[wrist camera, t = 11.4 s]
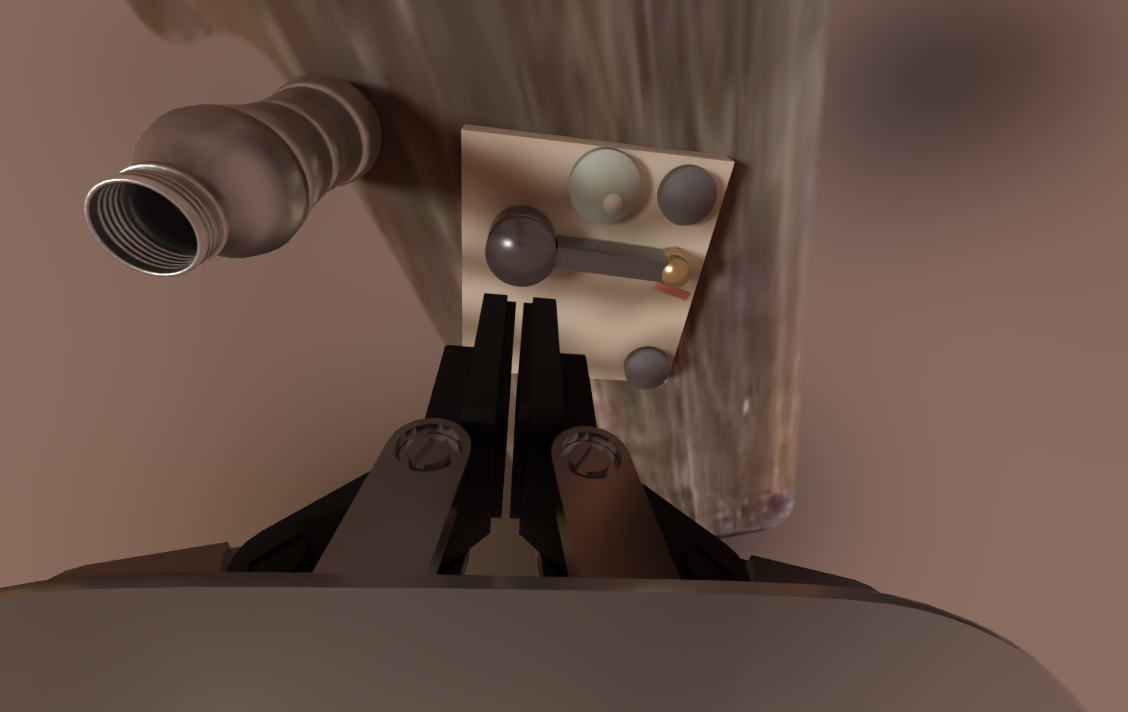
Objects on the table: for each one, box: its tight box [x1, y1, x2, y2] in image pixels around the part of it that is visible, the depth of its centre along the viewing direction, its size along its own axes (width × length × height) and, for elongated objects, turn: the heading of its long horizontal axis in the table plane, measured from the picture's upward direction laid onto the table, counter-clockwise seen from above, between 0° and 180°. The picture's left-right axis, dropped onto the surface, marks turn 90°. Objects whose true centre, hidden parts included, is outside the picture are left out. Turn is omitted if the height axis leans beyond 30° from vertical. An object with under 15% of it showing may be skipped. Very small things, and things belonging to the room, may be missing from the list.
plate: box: [461, 124, 735, 390], centre depth 38 cm, size 20×19×3 cm
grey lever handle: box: [485, 205, 692, 288], centre depth 35 cm, size 15×5×3 cm, turn 80°
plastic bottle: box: [83, 74, 382, 277], centre depth 25 cm, size 6×7×20 cm
